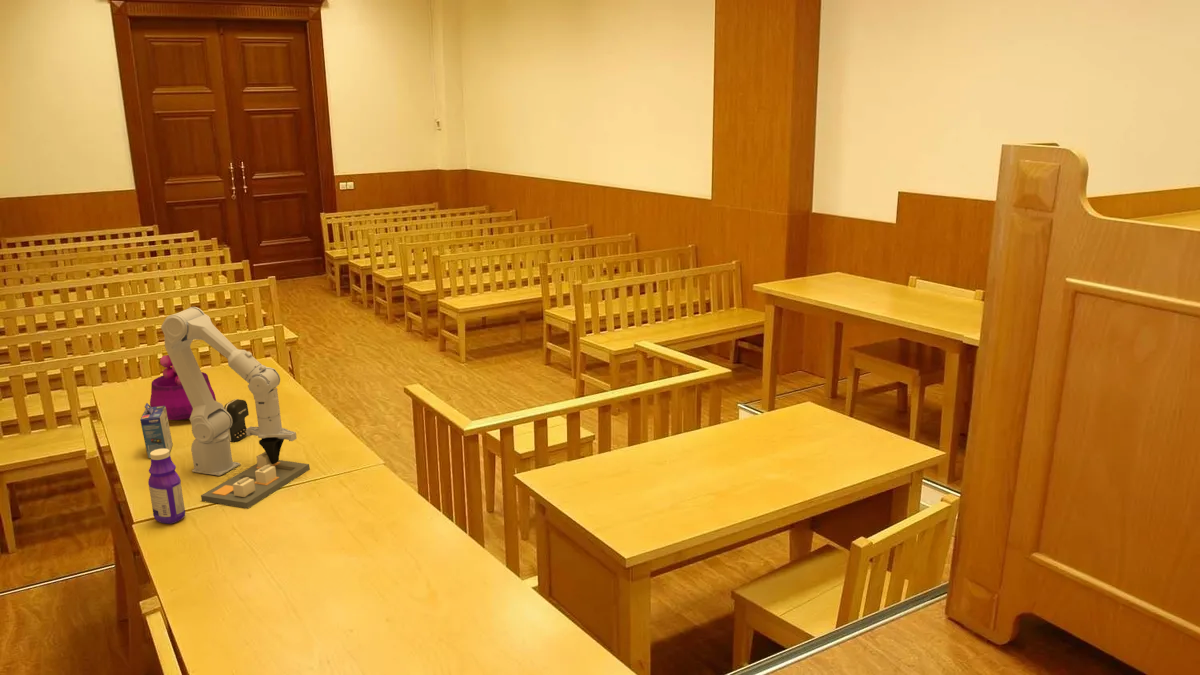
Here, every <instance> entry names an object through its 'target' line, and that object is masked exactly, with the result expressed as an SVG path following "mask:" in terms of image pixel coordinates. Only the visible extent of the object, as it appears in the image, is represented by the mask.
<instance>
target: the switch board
mask: <svg viewBox="0 0 1200 675" xmlns="http://www.w3.org/2000/svg"><path fill="white" fill-rule="evenodd" d="M272 466H275V469H276V478H275V479H273V480H271V481H270V482H268V483H266V484H265V483H258V482H256V475H255V471H257V470H258V469H260V468H262V467H258V464H257V463H254V464H253V465H252V466H250V467H248V468H246V469H245V470H243V471H241V472H239V473H237V474H236V475H234V476H232V477H231V478H229V479H227V480H226V481H224V482H222V483H220V484H218V485H217V486H215V487H213V488H211V489H210V490H208V491H206V492H204V493H202V494H201V495H200V499H201V502H205V501H206V502H208V503H211V502H212V503H213V504H217V503H218V504H219V505H223V504H224V506H230V507H236V508H242V507H243V509H249V508H252V507H253V506H254V505H255V504H257V503H260V502H261V501H262V500H263V499H265V498H267V497H269V495H271V494H273V493H274V492H276V491H278V490H280V489H281V488H283V487H284V486H286V485H288V484H289V483H290V482H292V481H293V480H296V479H297V478H298V477H300V476H301V475H303V474H305V473H306V472H308V471H309V470H310V467H311V466H310V464H309V463H305V462H304V463H302V462H298V461H297V462H296V461H289V460H283V459H279V461H278V462H277V463H275V464H274V465H272ZM245 477H249V479H254V484H255V491H253V492H252V493H250V494H248V495H247V496H245V497H240V496H234V490H233V484H234V483H236V482H238V481H239V480H241V479H243V478H245ZM206 502H205V503H206Z"/></svg>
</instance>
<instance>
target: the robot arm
mask: <svg viewBox="0 0 1200 675" xmlns="http://www.w3.org/2000/svg"><path fill="white" fill-rule="evenodd" d="M160 329H161V332H162V333H163V335H164V348H165V351H166V353H167V355H169V357H170V359H171V362H172V364H173V366H174V368H175V370H176V373H177V375H178V377H179V379H180V381H181V383H182V386H183V388H184V390H185V392H186V394H187V397H188V399H189V401H190V403H191V405H192V408H193V411H192V413H191V416H190V419H189V421H190V424H191V433H192V435H193V437H194V439H193V441H192V443H191V456H192V462H193V469H191V471H192V473H197V474H198V473H199V474H203V475H204V474H205V475H211V476H218V477H220V476H223V475H224V474H227V473H228V472H230V471H231V470H234V469H235V468H237V467H239V466H240V465H241V462H239V461H238V462H236V461H233V457H232V456H233V455H232V449H231V448H232V447H231V441H229V429H230V428H231V426H232V422H233V421H232V417H231V415H230V414H229V413H228V412H227V411H226V410H225V409H224V405H223V403H222V402H219V401H217V400H216V401H215V400H214V399H213V397H212V394H211V392H210V390H209V388H208V386H207V383H206V381H205V379H204V377H203V375H202V372H203V371H202V370H201V369H200V366H199V364H198V361H197V359H196V356H195V355H194V353H193V350H192V348H191V344H192V343H193V340H194V341H195V340H201V341H203V342H205V344H207V345H209V346H210V347H212V348H213V349H214V350H215V351H217V352H218V353H220V354H221V355H222V356H224V357H225V358H226V359H227V365H228V367H229V368H231V369H232V370H233V371H234V372H235V373H236V374H237V375H238V376H239V377H241V378H242V379H243V380H245V382H246V383H248V384H247V387H248V390H249V392H251V394H252V396H253V400H254V405H255V411H256V419H257V426H249V427H246V428H247V429H246V434H247V436H248V437H250V436H255V437H257V438H258V439H259V440H258V444H259V445H260V447H262V449H263V450H264V452H266V453H267V455H268V457H269V460H270V462H271V464H275V463H277V462H278V461H279V460H280V453H281V449H282V445H283V443H284V442H285V440H287V441H288V442H293V441H295V440H297V431H292V430H290V429H287V428H285V427H283V425H282V417H281V410H280V409H281V408H280V403H279V393H278V392H279V391H278V388H277V387H279V385H280V383H281V376H280V374H279V373H278V371H277V370H276V368H273V367H268V366H266V365H264V364H262V363H261V362H260V361H258V360H257V358H255V357H254V356H253V353H252V352H250V350H248V351H247V350H246V349H239V348H237V347H236V346H235V345H234V344H233V342H231V341H230V339H228V338H227V337H226V336H225V335H224V334H223V333H222V332H221V331H220V330H219V329H218V328H217V327H216V326H215V324H214V323H213V322H212V320H211V317H210V316H209V314H205V311H203V310H202V309H201V308H199V307H196V306H190V307H188V308H186V309H184V310H182V311H179V312H176V313H173V314H170V315H168V316H166V317H165V319H164V320H163V322H162V324H161V326H160ZM247 436H246V437H247Z"/></svg>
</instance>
